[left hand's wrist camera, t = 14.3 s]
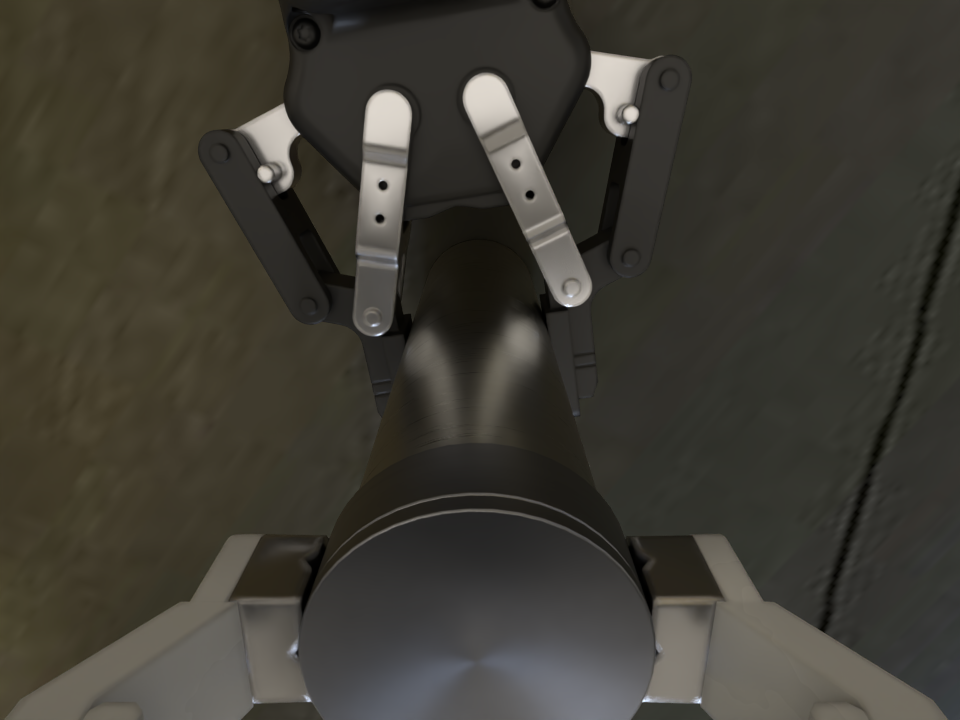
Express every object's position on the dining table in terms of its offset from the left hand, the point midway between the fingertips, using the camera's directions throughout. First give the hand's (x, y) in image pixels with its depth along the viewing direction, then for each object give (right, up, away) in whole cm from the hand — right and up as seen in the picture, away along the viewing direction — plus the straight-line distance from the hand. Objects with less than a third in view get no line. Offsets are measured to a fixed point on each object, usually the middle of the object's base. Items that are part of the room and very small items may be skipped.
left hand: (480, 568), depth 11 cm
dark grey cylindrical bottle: (0, +6, +16) cm, 17 cm away
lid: (0, -1, -2) cm, 2 cm away
